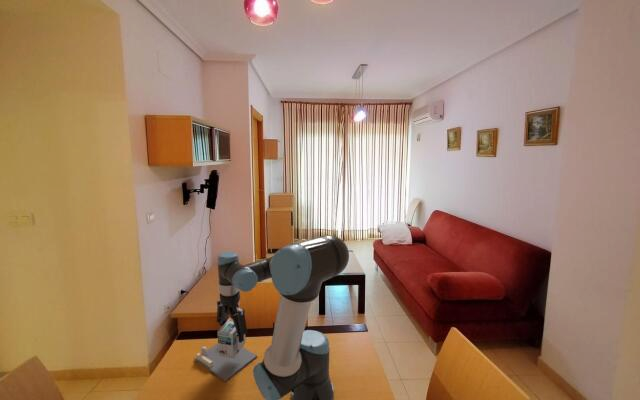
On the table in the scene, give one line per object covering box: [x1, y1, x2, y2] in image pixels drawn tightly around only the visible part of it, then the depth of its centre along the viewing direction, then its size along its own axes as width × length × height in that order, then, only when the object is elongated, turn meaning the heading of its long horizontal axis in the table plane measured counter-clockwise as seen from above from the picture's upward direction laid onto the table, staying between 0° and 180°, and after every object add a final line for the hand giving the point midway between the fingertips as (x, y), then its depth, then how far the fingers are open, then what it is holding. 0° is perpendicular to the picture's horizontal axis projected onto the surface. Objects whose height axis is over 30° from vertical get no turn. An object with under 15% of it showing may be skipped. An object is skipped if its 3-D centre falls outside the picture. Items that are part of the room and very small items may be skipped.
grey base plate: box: [193, 343, 258, 382], centre depth 124 cm, size 20×16×5 cm
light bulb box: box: [217, 316, 246, 359], centre depth 119 cm, size 11×7×11 cm, turn 168°
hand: (232, 343), depth 120 cm, fingers closed on light bulb box, 8 cm apart
